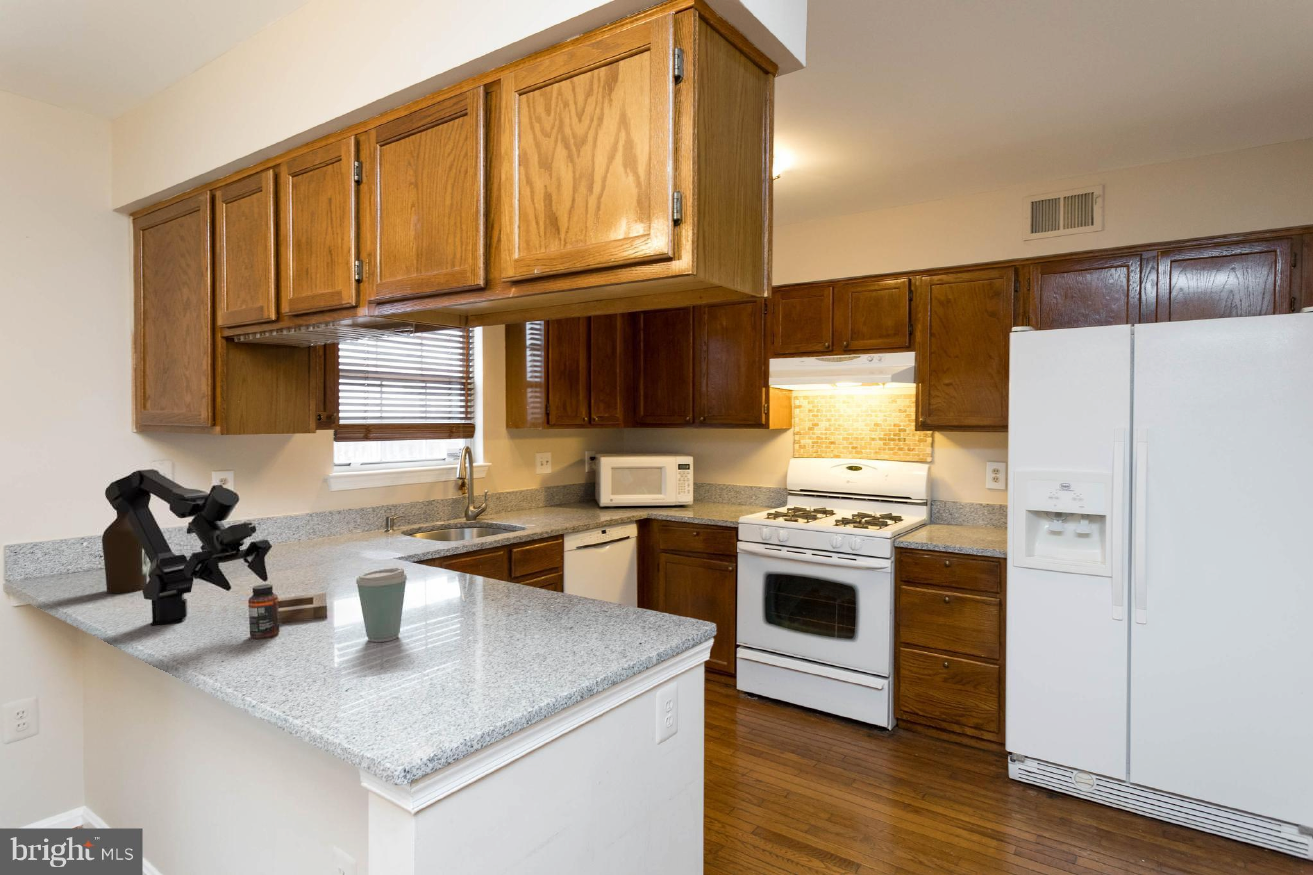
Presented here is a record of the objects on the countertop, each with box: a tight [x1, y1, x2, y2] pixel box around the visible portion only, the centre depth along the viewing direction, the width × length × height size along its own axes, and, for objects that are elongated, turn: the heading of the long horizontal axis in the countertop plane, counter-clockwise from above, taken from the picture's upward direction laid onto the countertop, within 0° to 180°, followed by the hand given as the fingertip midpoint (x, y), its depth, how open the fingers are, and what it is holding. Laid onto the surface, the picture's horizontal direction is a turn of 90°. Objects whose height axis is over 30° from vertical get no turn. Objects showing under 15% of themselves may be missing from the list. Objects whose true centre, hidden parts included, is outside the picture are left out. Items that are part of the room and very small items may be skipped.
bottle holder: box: [278, 592, 328, 625], centre depth 181 cm, size 14×14×3 cm
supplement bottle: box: [247, 583, 280, 640], centre depth 163 cm, size 6×6×11 cm
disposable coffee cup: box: [355, 567, 408, 643], centre depth 160 cm, size 11×11×15 cm
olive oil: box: [101, 511, 148, 595], centre depth 210 cm, size 11×11×25 cm
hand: (248, 584), depth 165 cm, fingers open, 9 cm apart
